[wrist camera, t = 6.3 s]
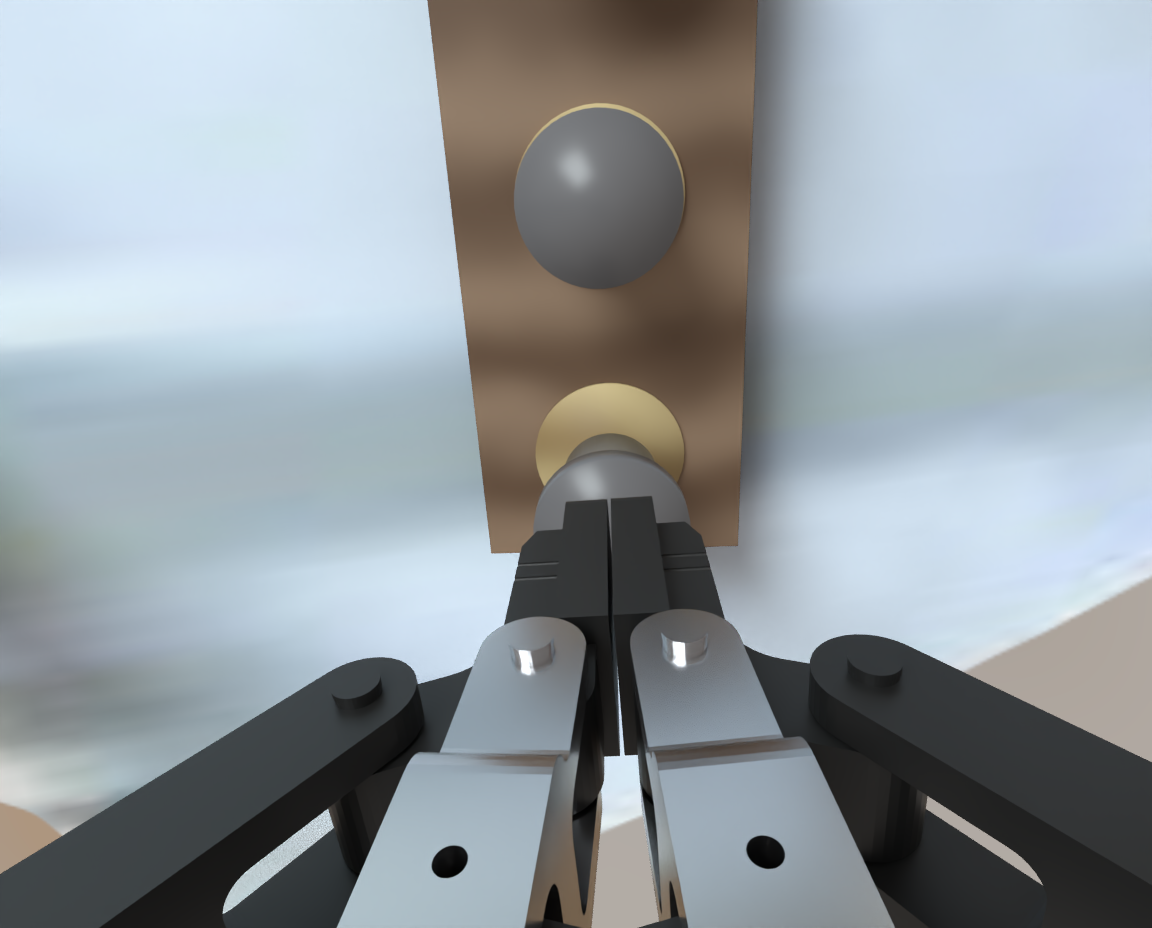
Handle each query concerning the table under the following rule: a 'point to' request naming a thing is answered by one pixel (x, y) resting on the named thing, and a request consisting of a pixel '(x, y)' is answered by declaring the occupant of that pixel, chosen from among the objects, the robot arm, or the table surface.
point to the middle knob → (598, 198)
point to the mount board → (613, 315)
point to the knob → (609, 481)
